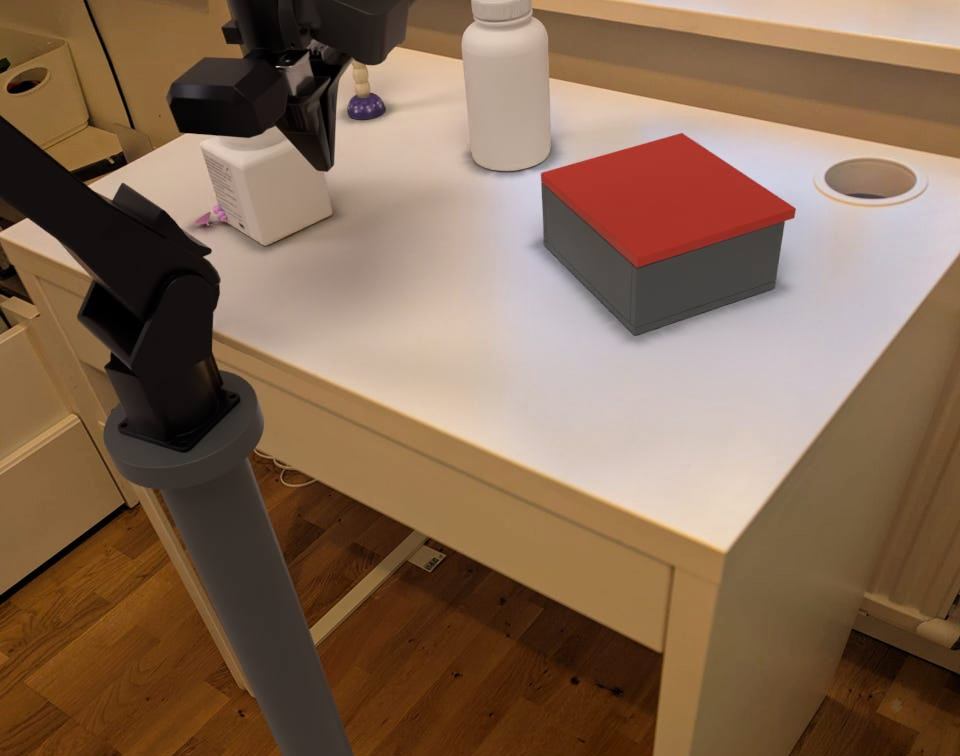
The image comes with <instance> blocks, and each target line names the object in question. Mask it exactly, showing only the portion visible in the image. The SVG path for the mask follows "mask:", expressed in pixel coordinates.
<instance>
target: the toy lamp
mask: <svg viewBox="0 0 960 756" xmlns="http://www.w3.org/2000/svg"><path fill="white" fill-rule="evenodd" d="M350 65H351V66H352V70H351V71H352V72H351V73H352V77H353V81H354V82H355V83H354V92H355V95H353V96H352V97H351V98H350V99H349V101H348V104H347V106H346V107H347V108H346V113H347V115H348V116H349V118H352V119H355V120H362V121H363V120H371V119H375V118H377V117H381V116H382V115H383V114H384V113H385V112H386V105H385V103H384V101H383V99H382V98H381V97H380V96H379V95H378V94H376V93H374V92H371V85H370V82H369V70H368V67H367V65H364V64H361V63H359V62H357V61H355V60H353V61H352V62H351V64H350Z"/></svg>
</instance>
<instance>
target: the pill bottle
mask: <svg viewBox="0 0 960 756" xmlns="http://www.w3.org/2000/svg"><path fill="white" fill-rule="evenodd" d="M470 3H471V12H472V15H473V20H474V21H473V22H472V23H471V24H469V26H467V27H466V29H465V31H463V35H462V38H461V57H462V68H463V78H464V79H463V80H464V90H465V91H464V92H465V100H466V111H467V112H466V113H467V124H468V135H469V144H470V146H469V147H470V151H471V156H472V158H473V160H474V162H475V163H476V164H478V165H479V166H480V167H482V168H485V169H487V170H492V171H497V172H498V171H500V172H513V171H514V172H515V171H520V170H525V169H529V168H532V167H535V166H536V165H539V164H540V163H542V162H544V161H545V160H546V159H547V158H548V157H549V154H550V152H551V145H552V134H551V131H552V129H551V126H552V125H551V94H550V60H549V59H550V58H549V54H550V53H549V35H548V31H547V29H546V27H545V25H544V24H543V23H542V21H540V20H539V19H538V18H536V17H534V16H533V12H534V11H533V8H532V0H470Z"/></svg>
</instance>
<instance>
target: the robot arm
mask: <svg viewBox="0 0 960 756" xmlns="http://www.w3.org/2000/svg"><path fill="white" fill-rule="evenodd" d="M226 1H227V4H228V7H229V10H230V13H231V17H232V18H231V19H230V20H229V21H227V22H226V23H225V24H223V25H222V26H220V27H221V31H222V34H223V37H224V40H225V44H226V45H242V46H243V45H244V48H245V50H246V51H247V52H248V53H247V54H245V55H244V56H243V57H242V58H240V57H238V58H237V57H236V58H235V57H215V56H214V57H213V56H212V57H211V56H203V58H201V59H200V60H199V61H198V62H196V63H195V64H194V65H193V66H191V67H190V68H188V69H187V71H185V72H184V73H182V74H181V75H180V76H178V78H176V79H175V80H173V82H171V84H170V87H169V89H168V91H167V93H166V96H165V100H166V102H167V103H166V104H167V105H168V107H169V110H170V112H171V115H172V118H173V120H174V121H175V125H176V128H177V130H178V133H179V134H188V135H189V134H192V135H203V136H228V137H241V138H251V137H254V136H258V135H261V134H263V133H264V132H265V131H266V130H267V129H268V128H269V127H270V126H271V125H272V124H274V125H275V126H276V127H277V128H278V129H279V130H280V131H281V132H282V133H283V134H284V136H285V137H286V138H287V139H288V140H289V141H290V142H291V143H292V144H293V145H294V147H295V148H296V149H297V150H298V151H299V152H300V153H301V154H302V155H303V156H304V157H305V159H306V160H307V161H308V162H309V163H310V164H311V165H312V166H313V167H314V168H315V169H316V170H317V171H323V172H324V173H329V171H330V170H331V169H332V168H333V167H334V166H335V158H336V157H335V155H336V154H335V153H336V151H335V150H336V131H337V128H336V127H337V106H338V105H337V104H338V94H339V83H340V80H341V78H342V77H343V75H344V74H345V72H346V71H347V69H348V68H349V67H350V65H352V64H351V62H352V61H353V60H355V61H357V62H359V63H361V64H364V65H366V66H371V67H372V66H379V65H381V64H382V63H384V62H385V61H386V60H387V58H388V55H389V54H390V53H391V52H392V51H393V50H394V49H395V48H397V46H398V45H401V44H403V43H404V42H405V40H406V37H407V28H408V21H409V12H410V9H411V8H412V7H413V6H414V5H415V4H417V2H418V1H419V0H226ZM0 199H1V200H2V201H3V202H5V203H6V204H8V205H9V206H10V207H11V208H13V209H14V210H16V211H18V213H20V214H21V215H23V216H24V217H26V218H27V219H28V220H29V221H30V222H32V223H34V224H35V225H36V226H38V227H39V228H40V229H42V230H43V231H45V232H46V233H48V234H49V235H50V236H51V237H52V238H54V239H56V240H57V242H58V243H59V244H60V245H61V246H62V247H63V248H64V249H65V250H66V252H67V253H68V254H69V255H70V256H71V257H72V258H73V259H74V261H75V262H76V263H77V264H78V265H79V266H80V267H81V268H82V269H83V270H84V271H85V272H86V273H87V275H89V276H90V277H91V278H92V280H91V283H90V285H89V287H88V289H87V292H86V294H85V296H84V299H83V301H82V303H81V306H80V307H79V310H78V312H77V314H76V319H77V322H79V323H80V324H81V325H82V326H83V327H84V328H85V329H86V330H87V331H88V332H89V333H90V334H91V335H93V337H94V338H96V339H97V340H98V341H99V342H100V343H102V345H103V346H105V347H106V348H107V349H108V350H109V351H110V354H109V358H110V360H109V361H108V362H107V363H106V364H104V366H103V369H104V371H105V373H106V376H107V377H108V380H109V382H110V384H111V386H112V388H113V391H114V393H115V395H116V397H117V399H118V401H119V402H120V403H121V406H122V408H123V410H124V412H125V414H126V416H127V417H126V418H125V419H124V420H123V421H122V422H120V423H119V424H118V426H117V428H118V430H119V432H120V433H121V434H123V435H126V436H130V437H133V438H136V439H139V440H142V441H145V442H148V443H151V444H155V445H158V446H161V447H164V448H167V449H170V450H173V451H177V452H180V453H187V452H189V451H191V450H192V449H193V448H194V447H195V446H196V445H197V444H198V443H199V442H200V441H201V440H202V439H203V438H204V437H205V436H206V435H207V434H208V433H209V432H210V431H211V430H212V429H213V428H214V427H215V426H216V425H217V424H218V423H219V422H220V421H221V420H222V419H223V418H224V417H225V416H226V415H227V414H228V413H229V412H230V411H231V410H232V409H233V408H234V407H236V406H237V405H238V404H239V403H240V401H241V399H240V396H239V394H238V393H236V392H232V391H229V390H225V389H222V388H221V387H222V386H223V380H222V377H221V375H220V372H219V370H220V369H219V367H218V364H217V361H216V358H215V356H214V353H213V339H214V338H213V337H214V335H213V334H214V312H215V311H216V309H217V307H218V304H219V299H220V296H221V286H220V285H221V281H222V280H221V277H220V274H219V272H218V270H217V269H216V267H215V266H214V265H213V264H212V263H211V261H210V260H208V259H207V258H205V257H207V256H209V255H211V254H212V253H213V249H212V248H211V247H209V246H208V245H206V244H205V242H202V241H201V240H199V239H198V238H196V237H195V236H194V235H192V234H190V233H189V232H188V231H187V230H185V229H184V228H182V227H181V226H180V225H179V224H178V223H177V222H176V220H175V219H174V218H173V217H172V216H171V215H170V214H169V212H167V211H166V210H165V209H163V208H162V207H160V206H159V205H157V204H156V203H155V202H153V201H151V200H150V199H148V197H145V196H144V195H143V194H141V193H140V192H138V191H137V190H136V189H134V188H132V187H131V186H130V185H128V184H126V183H125V182H121V183H120V185H119V186H118V189H117V190H116V192H115V194H114V195H113V198H112V199H111V198H109V197H107V196H105V195H103V194H101V193H99V192H97V191H95V190H93V189H92V188H91V187H90V186H89V185H88V184H86V183H85V182H83V181H82V180H81V179H80V178H78V176H76V175H75V174H74V173H73V172H71V171H70V170H69V169H67V167H65V166H64V165H63V164H61V163H60V162H59V161H58V160H57V159H55V158H54V157H53V156H52V155H50V154H49V153H48V152H47V151H45V150H44V149H43V148H42V147H40V145H39V144H37V143H35V142H34V141H33V140H32V139H31V138H29V137H28V136H27V135H25V133H23V132H22V131H21V130H19V129H18V128H17V127H16V126H15V125H13V124H12V123H11V122H10V121H8V120H7V119H6V118H4V117H3V116H2V115H1V114H0Z"/></svg>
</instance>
